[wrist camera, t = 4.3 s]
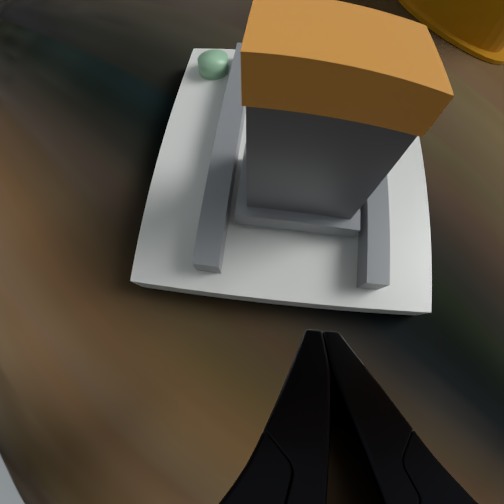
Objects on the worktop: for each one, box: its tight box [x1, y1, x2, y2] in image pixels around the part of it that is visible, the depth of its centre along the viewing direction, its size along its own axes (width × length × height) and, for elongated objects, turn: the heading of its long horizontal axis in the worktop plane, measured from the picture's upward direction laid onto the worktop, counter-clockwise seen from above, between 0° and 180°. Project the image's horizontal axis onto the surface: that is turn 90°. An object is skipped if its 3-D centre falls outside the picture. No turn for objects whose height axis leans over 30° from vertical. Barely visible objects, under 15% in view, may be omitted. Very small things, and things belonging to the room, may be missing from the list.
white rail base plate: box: [130, 43, 432, 315], centre depth 18 cm, size 17×16×4 cm
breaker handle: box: [235, 0, 454, 238], centre depth 11 cm, size 4×6×10 cm, turn 83°
